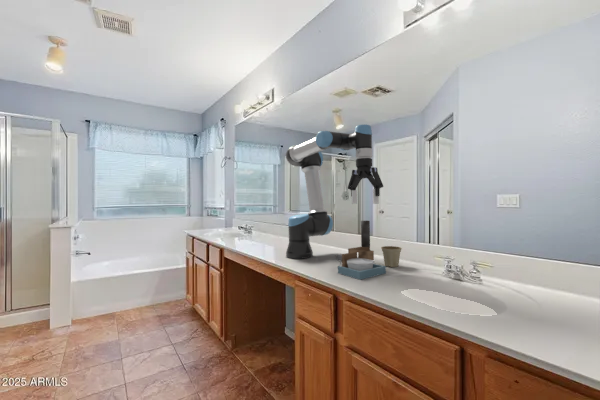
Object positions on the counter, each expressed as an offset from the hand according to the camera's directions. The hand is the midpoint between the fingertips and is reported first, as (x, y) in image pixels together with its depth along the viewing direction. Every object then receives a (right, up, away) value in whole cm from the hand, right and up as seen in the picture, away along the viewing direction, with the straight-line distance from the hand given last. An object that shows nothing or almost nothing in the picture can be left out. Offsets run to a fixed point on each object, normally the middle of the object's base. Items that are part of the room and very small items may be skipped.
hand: (364, 203), depth 137 cm
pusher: (-5, -29, -3) cm, 30 cm away
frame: (-4, -30, -11) cm, 32 cm away
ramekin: (-4, -30, -11) cm, 32 cm away
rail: (-5, -30, +8) cm, 31 cm away
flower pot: (+13, -30, 0) cm, 32 cm away
